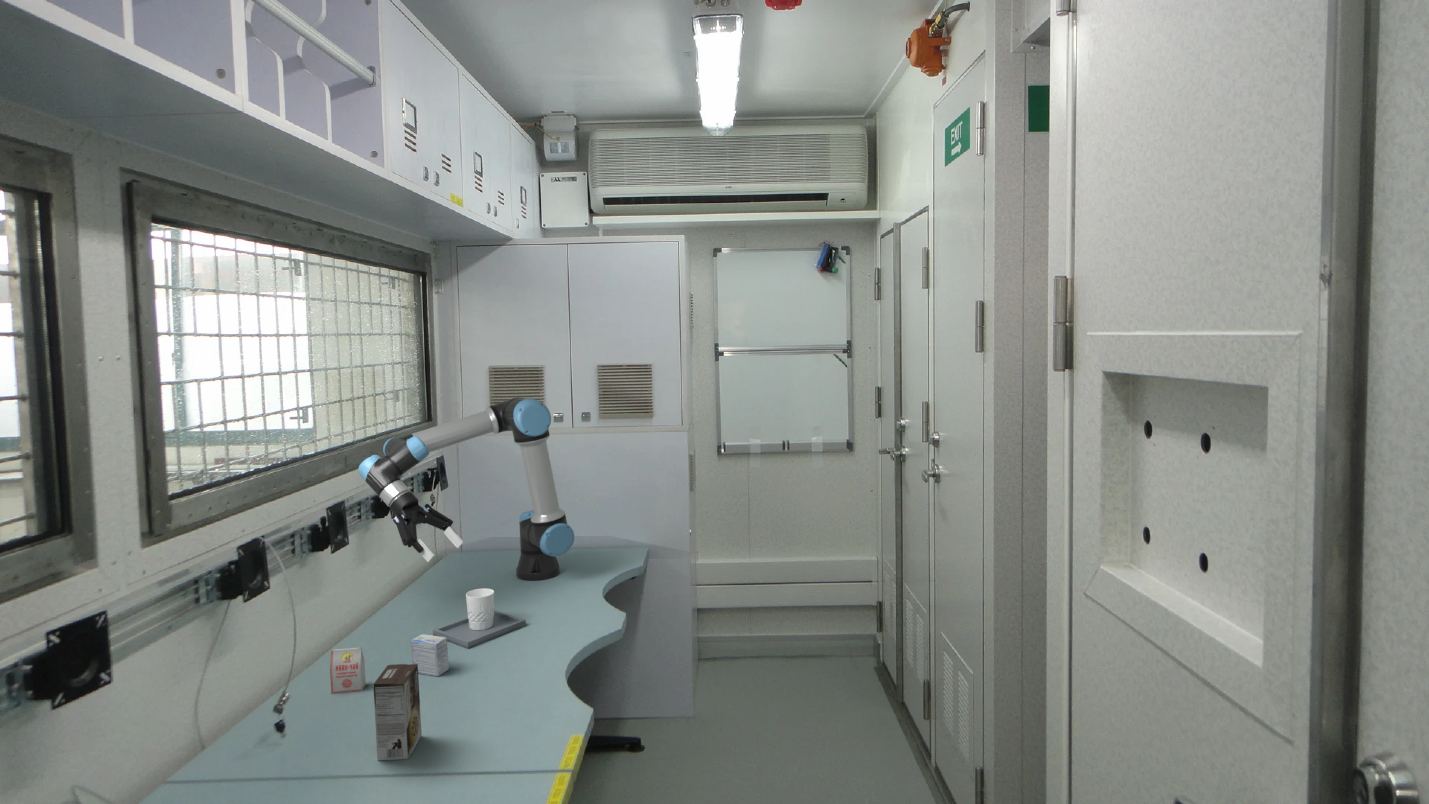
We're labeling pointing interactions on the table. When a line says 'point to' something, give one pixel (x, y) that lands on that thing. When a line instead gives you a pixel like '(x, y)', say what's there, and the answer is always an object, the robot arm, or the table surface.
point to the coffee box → (397, 711)
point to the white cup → (480, 608)
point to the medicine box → (430, 654)
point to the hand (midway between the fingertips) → (446, 552)
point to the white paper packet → (347, 670)
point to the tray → (470, 638)
